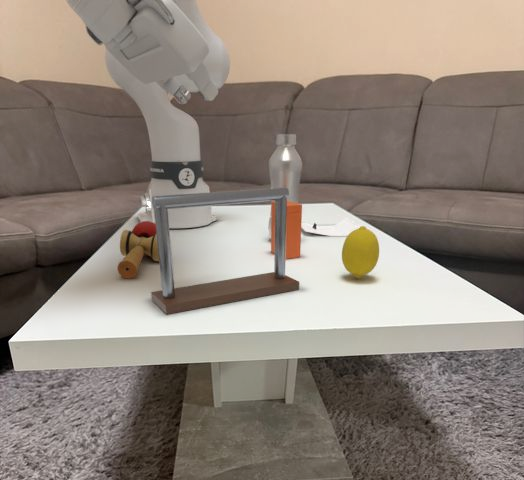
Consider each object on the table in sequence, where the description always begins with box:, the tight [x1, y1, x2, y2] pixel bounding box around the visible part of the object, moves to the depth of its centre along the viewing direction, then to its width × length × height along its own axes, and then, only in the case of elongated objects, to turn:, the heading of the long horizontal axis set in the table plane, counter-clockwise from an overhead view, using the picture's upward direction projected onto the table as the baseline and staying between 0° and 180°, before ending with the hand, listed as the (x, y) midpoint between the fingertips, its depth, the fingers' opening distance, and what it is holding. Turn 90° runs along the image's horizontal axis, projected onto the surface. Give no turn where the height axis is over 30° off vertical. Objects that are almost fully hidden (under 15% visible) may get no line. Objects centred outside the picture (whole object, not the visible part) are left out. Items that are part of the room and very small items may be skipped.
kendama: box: [117, 221, 159, 280], centre depth 77 cm, size 8×6×18 cm
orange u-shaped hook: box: [270, 201, 303, 260], centre depth 82 cm, size 5×3×9 cm, turn 30°
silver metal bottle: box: [267, 133, 303, 237], centre depth 90 cm, size 6×7×20 cm
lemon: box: [341, 225, 380, 279], centre depth 69 cm, size 6×6×8 cm
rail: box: [150, 187, 300, 315], centre depth 61 cm, size 6×20×14 cm, turn 120°
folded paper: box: [301, 216, 362, 237], centre depth 103 cm, size 12×12×2 cm
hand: (199, 99), depth 63 cm, fingers open, 8 cm apart
